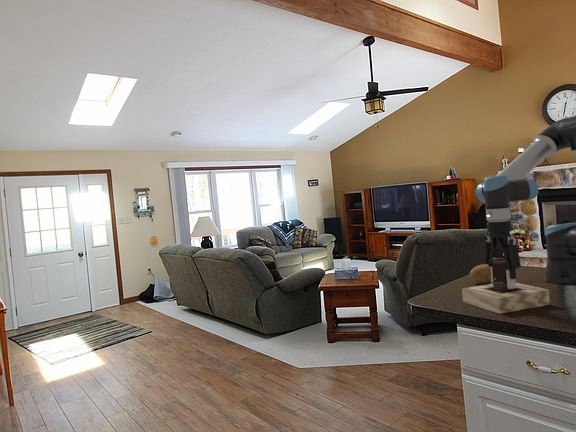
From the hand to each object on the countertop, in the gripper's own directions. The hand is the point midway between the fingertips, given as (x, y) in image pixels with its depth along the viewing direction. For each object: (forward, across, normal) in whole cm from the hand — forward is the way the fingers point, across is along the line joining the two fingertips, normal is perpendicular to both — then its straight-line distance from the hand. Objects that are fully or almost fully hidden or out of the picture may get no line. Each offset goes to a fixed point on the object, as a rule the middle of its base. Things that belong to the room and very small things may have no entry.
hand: (503, 286), depth 148 cm
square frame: (+6, 0, 0) cm, 6 cm away
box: (+2, 0, 0) cm, 2 cm away
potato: (+6, -30, +16) cm, 35 cm away
